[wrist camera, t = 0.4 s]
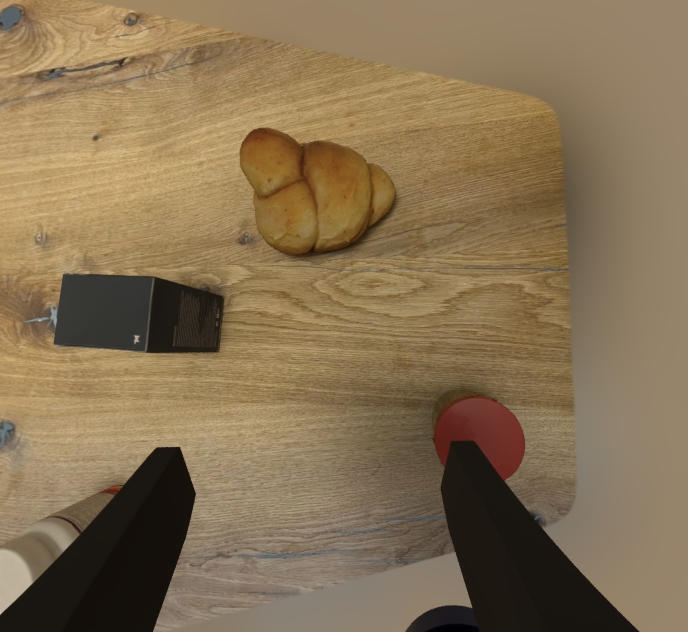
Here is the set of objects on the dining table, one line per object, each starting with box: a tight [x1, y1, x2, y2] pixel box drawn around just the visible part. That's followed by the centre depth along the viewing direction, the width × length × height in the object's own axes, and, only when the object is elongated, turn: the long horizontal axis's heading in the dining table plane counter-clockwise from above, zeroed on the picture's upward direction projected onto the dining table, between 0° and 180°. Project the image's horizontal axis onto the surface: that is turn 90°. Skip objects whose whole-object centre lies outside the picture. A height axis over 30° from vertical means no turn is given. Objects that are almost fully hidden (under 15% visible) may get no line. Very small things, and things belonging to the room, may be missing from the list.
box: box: [54, 273, 224, 353], centre depth 32 cm, size 8×6×11 cm
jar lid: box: [433, 394, 525, 480], centre depth 26 cm, size 6×6×1 cm
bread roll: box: [240, 128, 396, 255], centre depth 32 cm, size 13×10×8 cm
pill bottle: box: [0, 486, 123, 614], centre depth 31 cm, size 6×6×11 cm
